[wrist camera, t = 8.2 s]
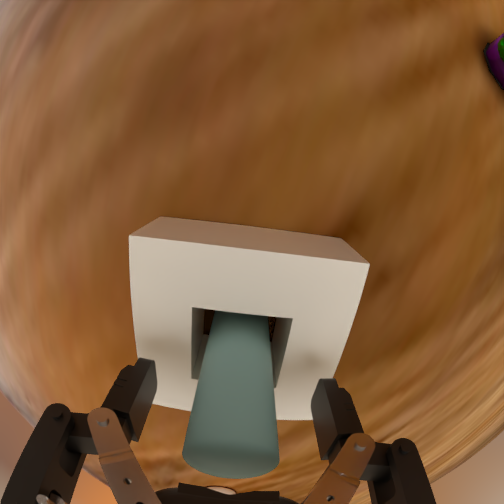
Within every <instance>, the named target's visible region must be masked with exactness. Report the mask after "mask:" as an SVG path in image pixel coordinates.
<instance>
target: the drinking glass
mask: <svg viewBox="0 0 504 504" xmlns="http://www.w3.org/2000/svg"><path fill="white" fill-rule="evenodd" d="M207 488H209V489H212V490H215V491H218V492H221V493H224V494H229V495H231V494H236V493H235V492H234V491H233V490H231V489H228V488H224V487H207Z"/></svg>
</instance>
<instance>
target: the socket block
mask: <svg viewBox="0 0 504 504" xmlns="http://www.w3.org/2000/svg"><path fill="white" fill-rule="evenodd" d="M129 265H130V286H131V301H132V313H133V323H134V332H135V341H136V349H137V356H138V359H139V358H140V357H141V358H145V359H150V360H154V361H155V365H156V374H157V391H156V394H155V397H154V400H153V402H152V404H157V405H161V406H166V407H171V408H176V409H181V410H187V411H191V410H192V406H193V401H194V397H195V393H196V388H197V384H198V380H199V375H200V371H201V367H202V363H203V358H204V354H205V350H206V346H207V342H208V338H209V335H205V334H203V331H204V310H205V309H210V310H218V311H226V312H234V313H243V314H252V315H262V316H272V317H277V318H276V323H275V328H274V333H273V338H272V342H270V348H271V360H272V371H273V383H274V396H275V408H276V420H313V418H312V413H311V399H312V396H313V394H314V391H315V389H316V386H317V383H318V381H319V379H320V378H333V376H334V373H335V371H336V368H337V365H338V363H339V360H340V358H341V355H342V352H343V349H344V347H345V344H346V341H347V338H348V335H349V332H350V330H351V327H352V324H353V320H354V317H355V314H356V311H357V308H358V305H359V301H360V298H361V295H362V291H363V288H364V284H365V280H366V277H367V273H368V269H369V265H370V263H368V262H367V261H366V260H365V259H364V258H363V257H362V256H361V255H360V254H358V253H357V252H356V251H355V250H354V249H353V248H352V247H351V246H349V245H348V244H347V243H346V242H345V241H344V240H343V239H341V238H336V237H329V236H322V235H315V234H307V233H300V232H292V231H285V230H277V229H269V228H261V227H253V226H244V225H236V224H227V223H218V222H209V221H200V220H191V219H181V218H171V217H161V216H160V217H159V218H157V219H155V220H153V221H152V222H150V223H148V224H147V225H145V226H143V227H142V228H140V229H138V230H137V231H135V232H133V233H132V234H130V235H129Z"/></svg>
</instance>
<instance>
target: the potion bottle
mask: <svg viewBox="0 0 504 504" xmlns="http://www.w3.org/2000/svg"><path fill="white" fill-rule="evenodd" d="M483 52H484V55H485V58H486V61H487V64H488V68H489V71H490V73H491V74H492V75H493V77H494V78H495V80H496V81H497V83H498V84H499V86H500V88H501V89H503V90H504V33H503V34H502V35H500V36H499V37H498V38H497V39H496V40H494V41H493V42H492V43H491V44H490V43H487V45H486V47H485V49H484V51H483Z"/></svg>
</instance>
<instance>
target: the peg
mask: <svg viewBox="0 0 504 504" xmlns="http://www.w3.org/2000/svg"><path fill="white" fill-rule="evenodd" d="M182 455H183V458H184V460H185V461H186V462H187V463H188V464H189V465H190V466H192V467H193V468H195V469H196V470H198V471H201V472H203V473H206V474H209V475H212V476H217V477H222V478H233V479H241V478H251V477H257V476H260V475H264V474H266V473H268V472H270V471H272V470H273V469H275V468H276V467H277V465H278V464H279V447H278V434H277V421H276V408H275V396H274V383H273V371H272V360H271V348H270V336H269V325H268V316H262V315H252V314H243V313H234V312H226V311H218V310H215V313H214V317H213V321H212V325H211V330H210V334H209V338H208V342H207V346H206V350H205V354H204V358H203V363H202V367H201V371H200V375H199V380H198V384H197V388H196V393H195V397H194V401H193V406H192V410H191V415H190V419H189V424H188V428H187V433H186V437H185V442H184V447H183V451H182Z"/></svg>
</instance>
